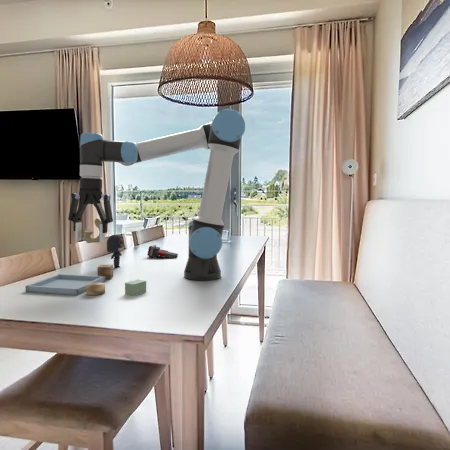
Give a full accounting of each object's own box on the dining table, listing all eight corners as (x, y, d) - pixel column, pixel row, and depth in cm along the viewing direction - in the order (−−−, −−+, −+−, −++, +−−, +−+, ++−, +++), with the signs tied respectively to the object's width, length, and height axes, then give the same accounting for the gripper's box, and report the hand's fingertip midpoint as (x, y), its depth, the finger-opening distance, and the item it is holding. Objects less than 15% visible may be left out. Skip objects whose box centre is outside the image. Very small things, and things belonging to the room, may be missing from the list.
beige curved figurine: (71, 238, 129) (82, 213, 133) (80, 245, 135) (90, 221, 139) (92, 241, 127) (103, 216, 131) (100, 249, 132) (110, 224, 137)
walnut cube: (113, 276, 149) (113, 264, 149) (110, 279, 144) (110, 267, 144) (100, 276, 148) (100, 264, 148) (97, 279, 143) (97, 267, 143)
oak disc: (104, 290, 128) (104, 281, 128) (105, 294, 123) (105, 285, 122) (86, 292, 126) (86, 283, 126) (86, 295, 121) (85, 286, 120)
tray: (104, 281, 140) (104, 276, 140) (77, 295, 122) (77, 289, 122) (59, 279, 143) (58, 273, 143) (25, 291, 125) (25, 286, 124)
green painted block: (146, 292, 127) (146, 280, 127) (133, 296, 122) (133, 284, 122) (137, 290, 129) (137, 279, 129) (125, 294, 124) (124, 282, 124)
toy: (118, 270, 161) (118, 236, 160) (102, 268, 163) (102, 235, 162) (128, 266, 170) (128, 233, 169) (112, 265, 172) (112, 233, 171)
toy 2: (176, 261, 199) (149, 255, 199) (179, 249, 199) (152, 243, 199) (174, 264, 190) (146, 257, 191) (176, 252, 190) (148, 246, 190)
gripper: (124, 179, 132) (122, 241, 134) (69, 177, 135) (68, 238, 137) (114, 178, 125) (113, 244, 127) (57, 176, 128) (56, 240, 130)
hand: (90, 241), depth 132 cm, fingers closed on beige curved figurine, 8 cm apart
